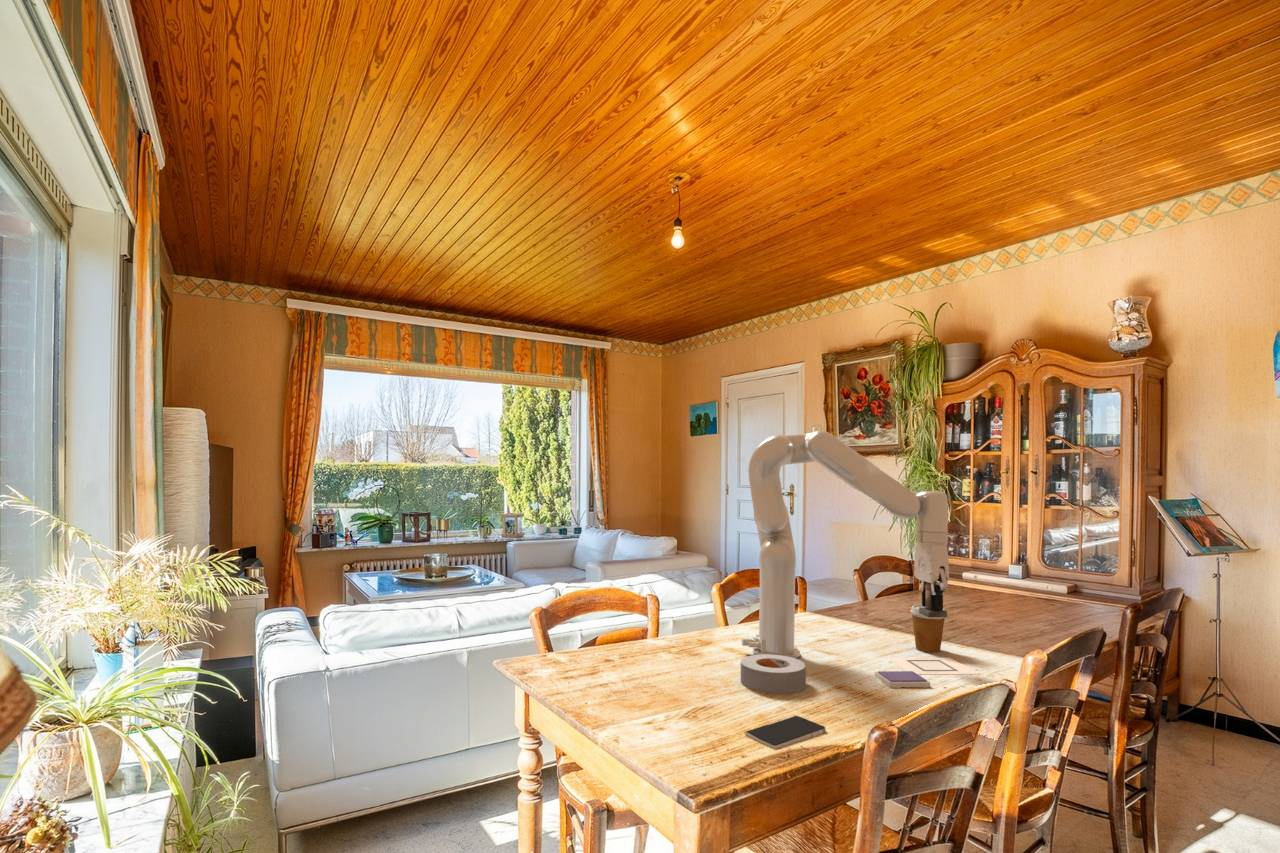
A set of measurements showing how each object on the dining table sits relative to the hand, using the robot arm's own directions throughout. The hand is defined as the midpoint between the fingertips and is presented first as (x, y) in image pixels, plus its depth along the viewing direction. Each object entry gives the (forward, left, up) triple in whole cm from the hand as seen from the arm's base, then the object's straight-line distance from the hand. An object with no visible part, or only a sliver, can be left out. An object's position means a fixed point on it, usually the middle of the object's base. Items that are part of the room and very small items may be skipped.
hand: (932, 607), depth 180 cm
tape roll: (-46, -12, -16) cm, 50 cm away
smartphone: (-52, -41, -16) cm, 69 cm away
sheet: (0, 0, -15) cm, 15 cm away
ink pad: (-14, -12, -15) cm, 24 cm away
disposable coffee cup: (+7, +15, -16) cm, 23 cm away
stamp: (0, 0, -2) cm, 2 cm away
